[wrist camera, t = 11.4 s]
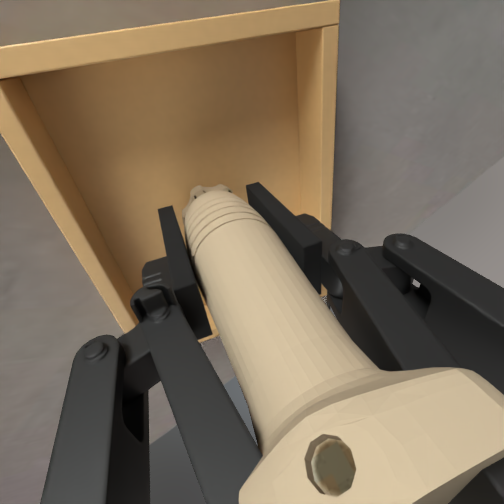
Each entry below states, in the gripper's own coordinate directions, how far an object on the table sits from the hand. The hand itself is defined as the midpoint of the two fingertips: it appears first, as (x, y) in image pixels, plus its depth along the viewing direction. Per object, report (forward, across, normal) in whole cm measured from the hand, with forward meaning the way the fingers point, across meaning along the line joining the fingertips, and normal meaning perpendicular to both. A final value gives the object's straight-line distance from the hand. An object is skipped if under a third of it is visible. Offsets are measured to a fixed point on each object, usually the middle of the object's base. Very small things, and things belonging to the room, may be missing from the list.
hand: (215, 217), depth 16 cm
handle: (+2, 0, 0) cm, 2 cm away
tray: (+2, 0, 0) cm, 2 cm away
